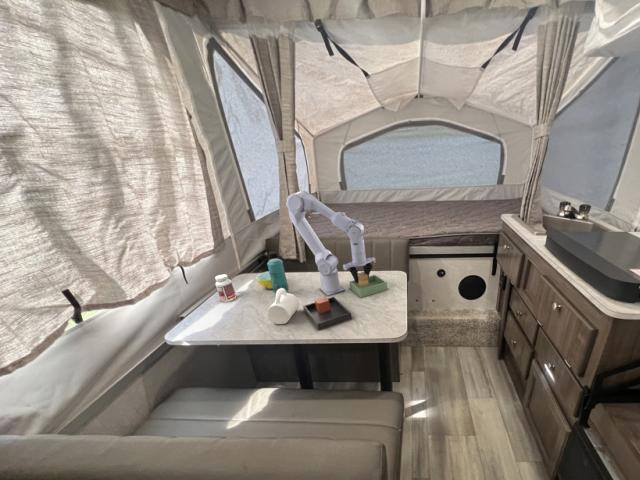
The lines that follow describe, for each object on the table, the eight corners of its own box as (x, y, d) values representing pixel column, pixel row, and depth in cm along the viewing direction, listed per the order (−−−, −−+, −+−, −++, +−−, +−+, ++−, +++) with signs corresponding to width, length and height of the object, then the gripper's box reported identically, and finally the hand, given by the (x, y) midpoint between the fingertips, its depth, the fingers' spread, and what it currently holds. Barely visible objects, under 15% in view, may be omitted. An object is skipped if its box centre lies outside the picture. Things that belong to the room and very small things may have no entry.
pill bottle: (237, 294, 143) (229, 272, 138) (235, 300, 138) (228, 277, 132) (222, 297, 141) (214, 275, 136) (220, 303, 136) (212, 280, 131)
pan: (304, 311, 126) (303, 305, 125) (334, 301, 132) (334, 296, 131) (318, 330, 113) (317, 324, 112) (351, 318, 119) (351, 313, 118)
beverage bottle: (277, 292, 143) (266, 250, 134) (291, 291, 144) (282, 249, 134) (273, 298, 137) (261, 255, 128) (288, 297, 138) (278, 254, 129)
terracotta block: (316, 309, 126) (314, 299, 124) (326, 306, 128) (325, 296, 126) (320, 313, 122) (318, 303, 120) (330, 310, 124) (329, 300, 122)
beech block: (355, 283, 139) (354, 274, 137) (364, 280, 141) (363, 271, 139) (359, 286, 136) (358, 277, 134) (368, 283, 138) (367, 274, 136)
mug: (270, 324, 118) (262, 296, 112) (281, 310, 127) (274, 284, 121) (291, 324, 117) (284, 296, 111) (301, 311, 126) (295, 284, 121)
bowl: (289, 284, 150) (286, 272, 147) (269, 294, 142) (266, 281, 139) (274, 280, 156) (271, 268, 153) (254, 289, 147) (250, 277, 144)
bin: (350, 288, 143) (349, 281, 141) (375, 281, 149) (375, 274, 147) (361, 297, 134) (360, 290, 133) (387, 289, 140) (386, 282, 139)
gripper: (346, 258, 125) (350, 288, 132) (377, 250, 132) (380, 279, 138) (339, 253, 131) (343, 283, 137) (370, 246, 137) (372, 275, 144)
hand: (361, 281), depth 138 cm, fingers closed on beech block, 4 cm apart
